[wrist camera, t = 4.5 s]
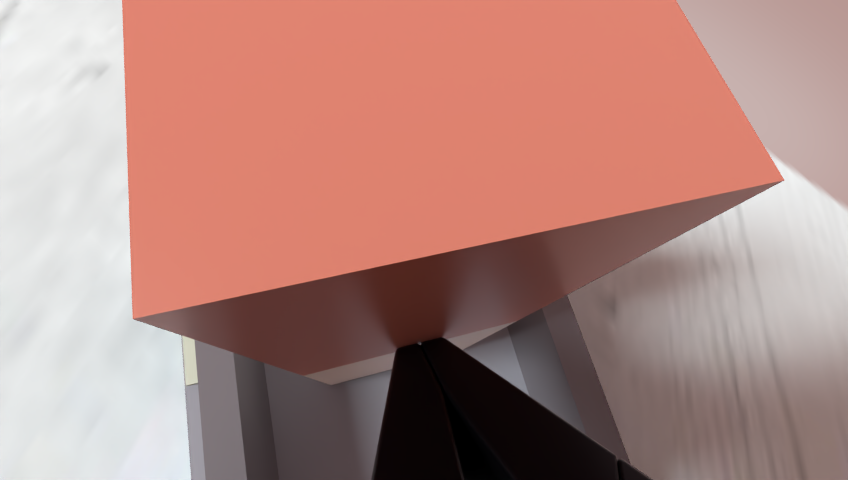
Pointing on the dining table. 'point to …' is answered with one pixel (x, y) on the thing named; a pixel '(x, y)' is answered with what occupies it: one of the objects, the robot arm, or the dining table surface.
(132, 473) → the dining table surface
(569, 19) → the block
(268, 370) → the grey walled base plate
